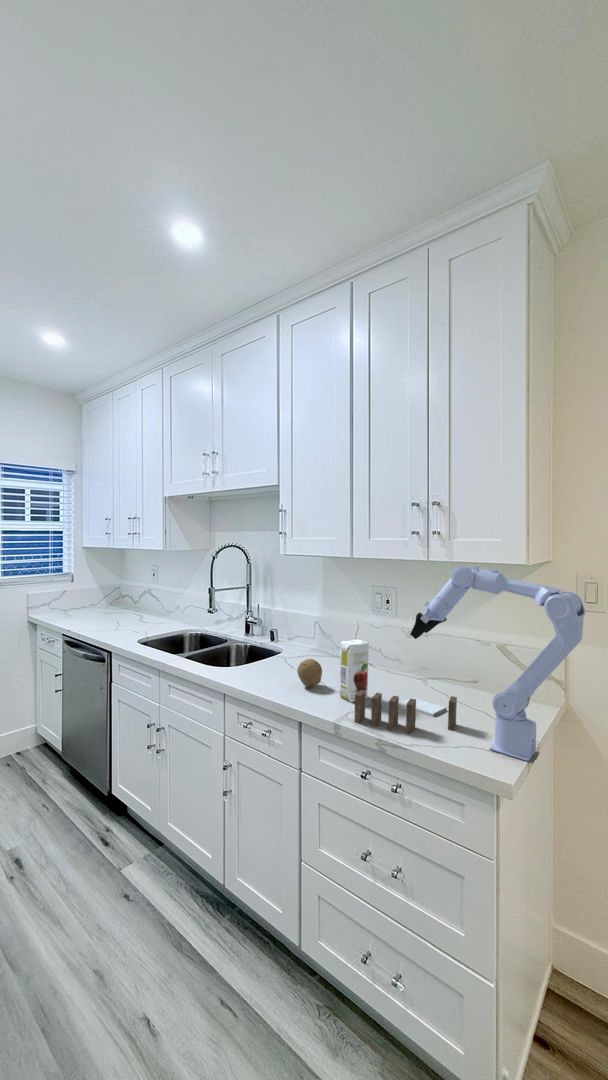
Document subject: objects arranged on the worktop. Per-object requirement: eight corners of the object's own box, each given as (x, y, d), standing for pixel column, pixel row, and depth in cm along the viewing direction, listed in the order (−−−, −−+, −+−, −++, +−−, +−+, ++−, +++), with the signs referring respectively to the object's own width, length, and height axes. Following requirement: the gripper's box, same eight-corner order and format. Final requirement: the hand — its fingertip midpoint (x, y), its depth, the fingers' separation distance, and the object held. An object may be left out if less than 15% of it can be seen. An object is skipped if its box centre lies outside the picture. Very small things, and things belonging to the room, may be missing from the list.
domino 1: (364, 717, 140) (365, 690, 140) (359, 723, 135) (360, 695, 135) (359, 716, 141) (360, 689, 141) (354, 722, 136) (355, 694, 136)
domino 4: (415, 727, 134) (416, 699, 134) (411, 733, 129) (412, 704, 129) (409, 726, 134) (410, 698, 134) (405, 732, 130) (406, 703, 130)
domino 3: (397, 723, 136) (398, 696, 136) (393, 730, 131) (394, 701, 131) (392, 722, 136) (393, 695, 136) (388, 729, 132) (389, 700, 132)
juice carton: (336, 696, 157) (337, 640, 157) (356, 692, 162) (357, 638, 162) (350, 703, 151) (351, 645, 151) (370, 699, 156) (372, 642, 155)
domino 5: (455, 724, 137) (456, 697, 137) (453, 730, 132) (454, 702, 132) (450, 723, 137) (451, 696, 137) (447, 729, 133) (448, 701, 133)
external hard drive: (433, 718, 142) (398, 707, 151) (446, 712, 148) (412, 701, 156) (433, 713, 142) (398, 702, 151) (446, 707, 148) (412, 696, 156)
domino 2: (381, 720, 138) (381, 693, 138) (376, 726, 133) (377, 698, 133) (375, 719, 139) (376, 692, 138) (371, 725, 134) (371, 697, 134)
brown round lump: (301, 681, 173) (302, 654, 173) (324, 684, 170) (325, 657, 170) (294, 689, 164) (294, 660, 164) (318, 692, 162) (319, 663, 161)
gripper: (444, 587, 141) (418, 619, 146) (425, 594, 129) (397, 629, 135) (462, 603, 138) (435, 635, 143) (444, 612, 126) (416, 646, 132)
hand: (418, 633), depth 139 cm, fingers open, 7 cm apart
